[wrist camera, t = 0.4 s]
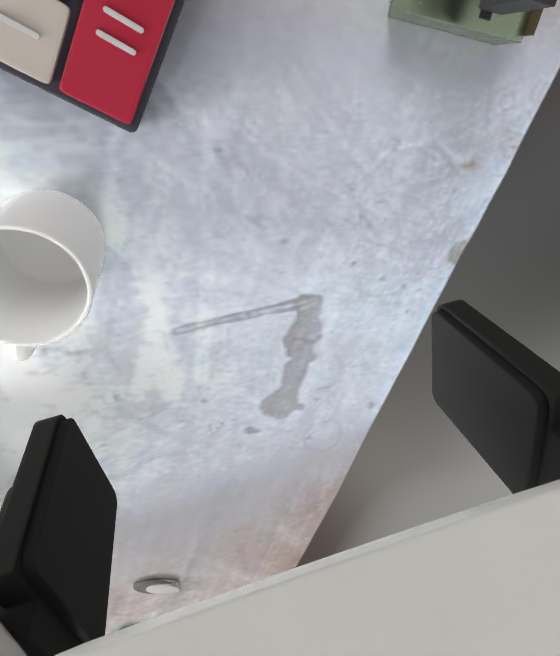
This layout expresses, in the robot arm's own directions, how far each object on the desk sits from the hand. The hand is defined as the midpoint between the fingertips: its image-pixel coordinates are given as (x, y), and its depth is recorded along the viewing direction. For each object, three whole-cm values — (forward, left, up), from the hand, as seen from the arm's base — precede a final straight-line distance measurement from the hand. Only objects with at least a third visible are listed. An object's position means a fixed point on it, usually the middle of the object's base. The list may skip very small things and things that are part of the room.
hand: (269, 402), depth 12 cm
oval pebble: (+50, -20, -30) cm, 62 cm away
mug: (+4, -13, -30) cm, 33 cm away
